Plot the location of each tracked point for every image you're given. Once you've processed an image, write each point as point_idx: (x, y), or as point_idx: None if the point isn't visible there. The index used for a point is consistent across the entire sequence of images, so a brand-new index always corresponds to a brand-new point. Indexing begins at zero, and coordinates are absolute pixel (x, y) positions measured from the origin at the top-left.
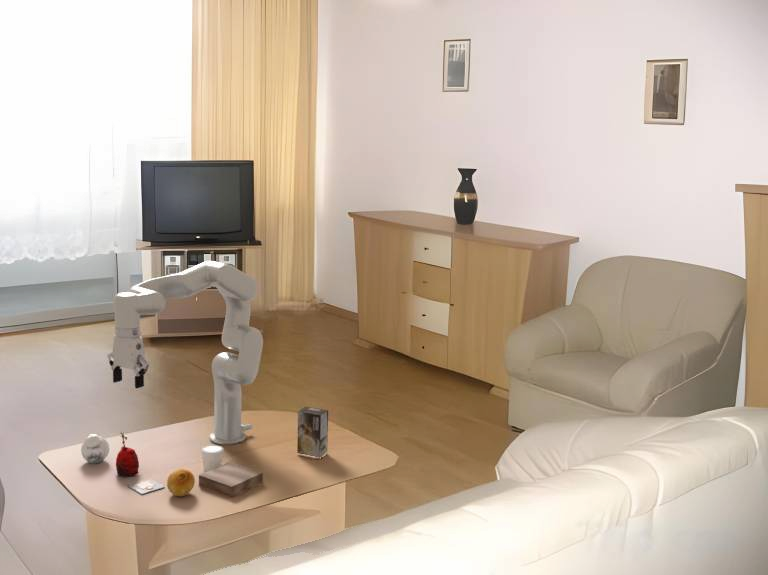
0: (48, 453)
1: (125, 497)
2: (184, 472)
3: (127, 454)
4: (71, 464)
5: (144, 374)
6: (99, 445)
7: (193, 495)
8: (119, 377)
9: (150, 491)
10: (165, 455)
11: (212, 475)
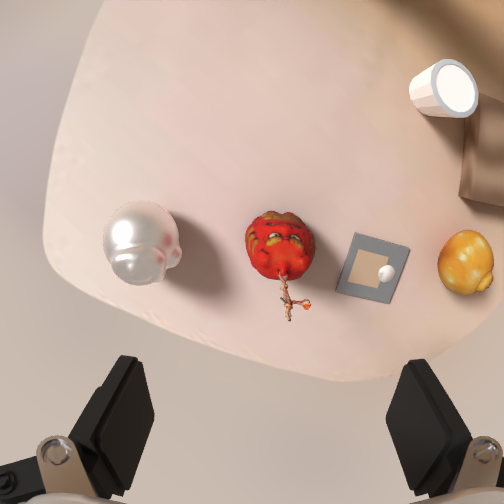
0: (47, 257)
1: (365, 328)
2: (488, 273)
3: (300, 274)
4: None
5: (485, 439)
6: (166, 261)
7: None
8: (136, 404)
9: (396, 283)
10: (267, 82)
11: (493, 186)
